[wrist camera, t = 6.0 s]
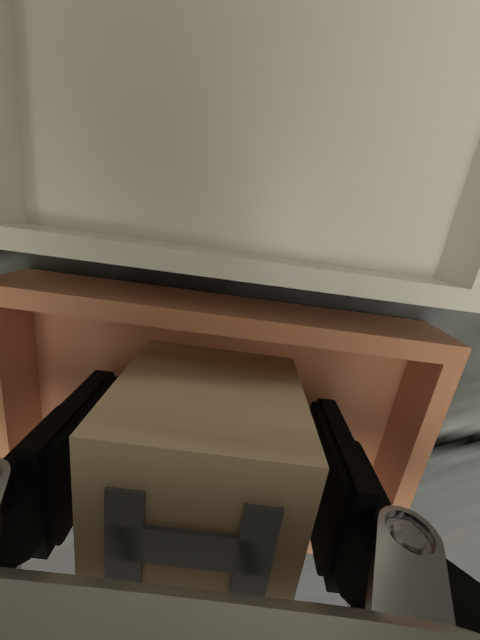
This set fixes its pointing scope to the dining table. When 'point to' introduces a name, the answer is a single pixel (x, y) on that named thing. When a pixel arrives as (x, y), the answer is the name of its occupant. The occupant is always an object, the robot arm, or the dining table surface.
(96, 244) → the tray
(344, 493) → the robot arm
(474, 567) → the dining table surface
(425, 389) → the tray
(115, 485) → the letter cube
